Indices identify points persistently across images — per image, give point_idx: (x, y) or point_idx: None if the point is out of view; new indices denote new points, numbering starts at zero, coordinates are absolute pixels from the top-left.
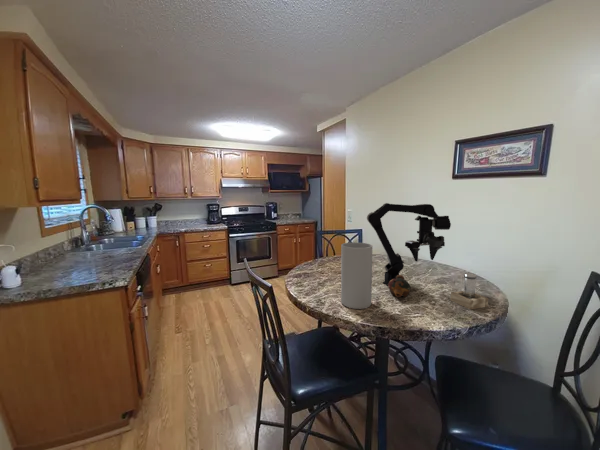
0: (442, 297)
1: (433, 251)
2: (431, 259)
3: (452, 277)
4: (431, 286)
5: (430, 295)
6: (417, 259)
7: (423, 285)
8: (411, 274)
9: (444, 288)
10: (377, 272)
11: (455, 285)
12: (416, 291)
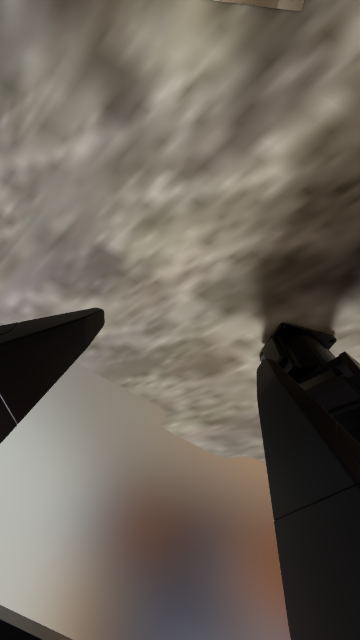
0: (285, 96)
1: (12, 362)
2: (102, 319)
3: (33, 277)
4: (179, 253)
5: (305, 163)
6: (276, 369)
7: (197, 278)
8: (138, 361)
9: (151, 206)
10: (215, 418)
11: (79, 209)
12: (299, 244)
